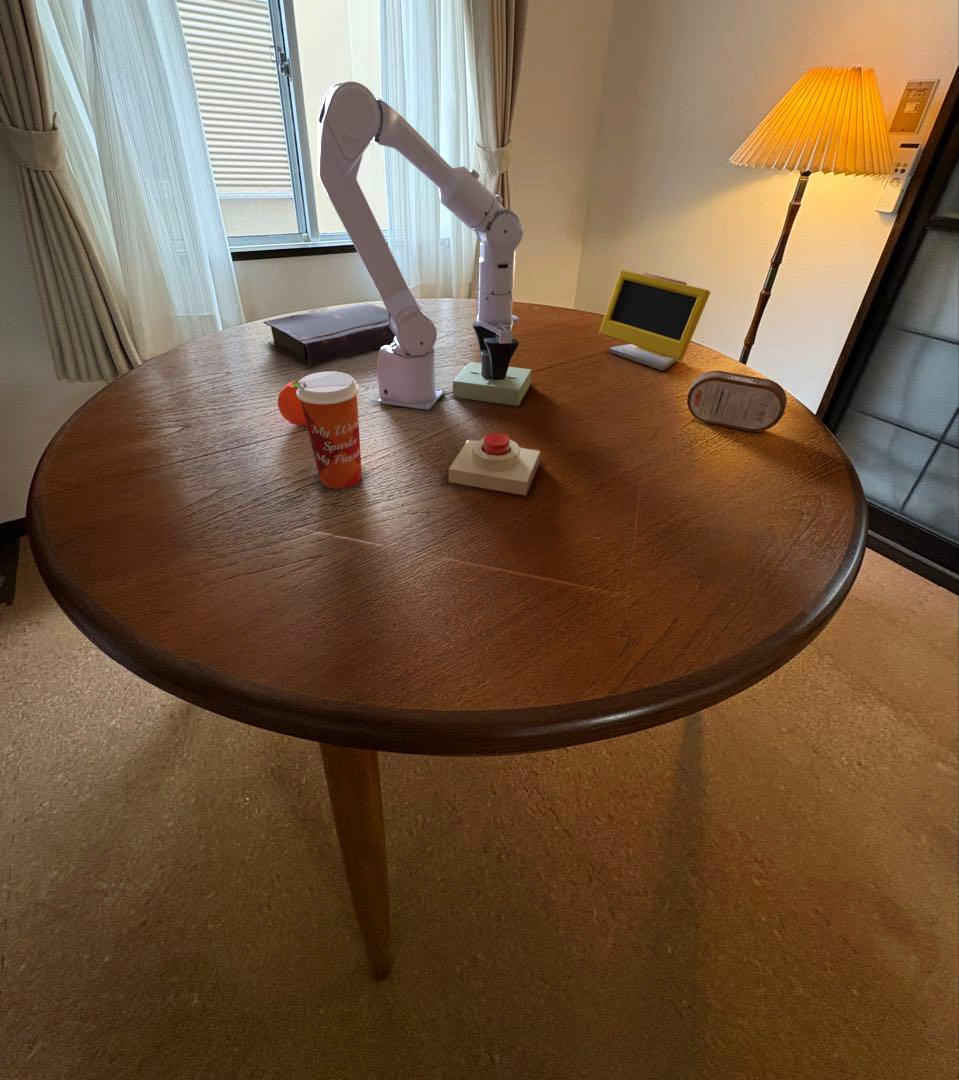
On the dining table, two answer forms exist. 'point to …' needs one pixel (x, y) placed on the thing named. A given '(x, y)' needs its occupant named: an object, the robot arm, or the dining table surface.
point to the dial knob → (485, 365)
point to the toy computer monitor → (653, 318)
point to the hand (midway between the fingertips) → (493, 371)
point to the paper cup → (332, 426)
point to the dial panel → (492, 385)
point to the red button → (496, 444)
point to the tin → (736, 400)
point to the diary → (331, 333)
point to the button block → (495, 468)
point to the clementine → (291, 404)
